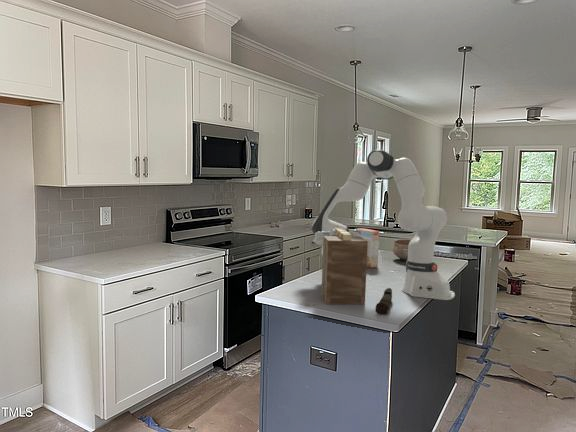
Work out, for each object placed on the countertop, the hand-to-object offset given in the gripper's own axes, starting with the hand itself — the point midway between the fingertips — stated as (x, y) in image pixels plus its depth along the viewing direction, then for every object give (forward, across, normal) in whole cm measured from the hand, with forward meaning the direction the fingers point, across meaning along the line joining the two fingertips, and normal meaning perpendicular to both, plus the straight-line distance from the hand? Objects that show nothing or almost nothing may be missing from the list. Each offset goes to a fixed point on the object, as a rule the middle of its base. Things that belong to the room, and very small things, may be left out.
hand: (340, 231), depth 194 cm
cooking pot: (-77, +58, -12) cm, 97 cm away
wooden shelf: (-4, 0, +29) cm, 29 cm away
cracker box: (-64, +28, -5) cm, 70 cm away
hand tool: (+3, +15, +34) cm, 37 cm away
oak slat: (+4, 0, +4) cm, 6 cm away
